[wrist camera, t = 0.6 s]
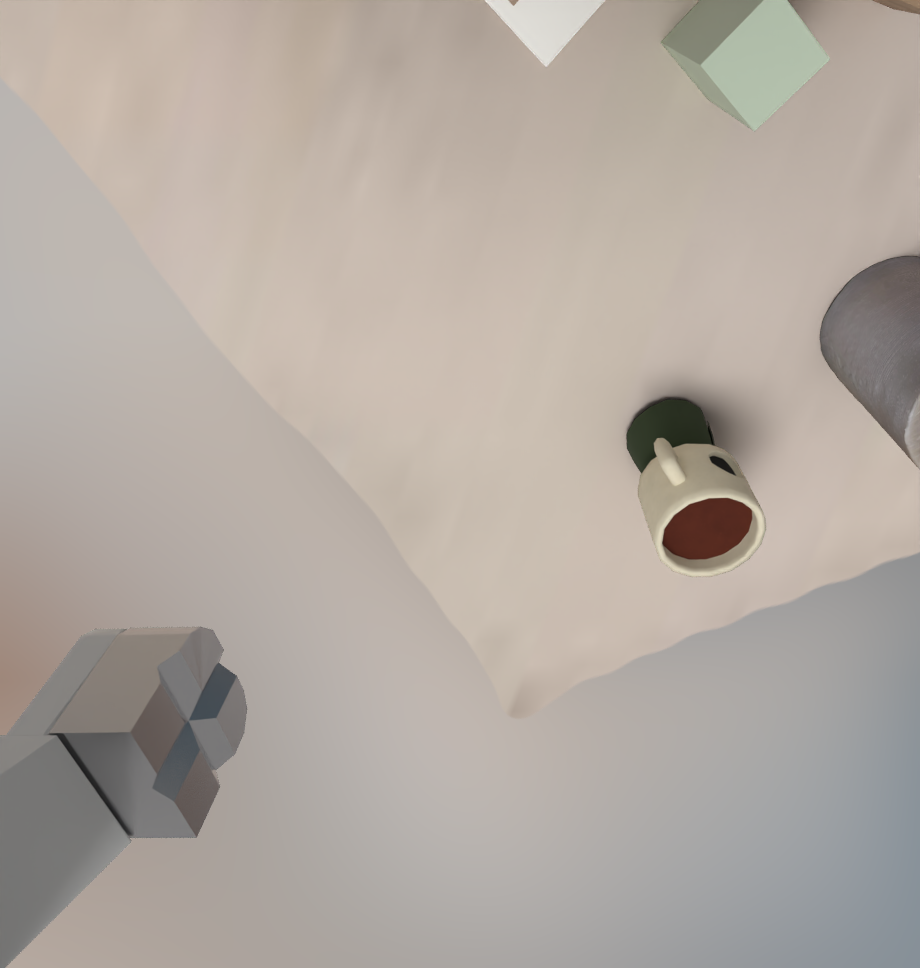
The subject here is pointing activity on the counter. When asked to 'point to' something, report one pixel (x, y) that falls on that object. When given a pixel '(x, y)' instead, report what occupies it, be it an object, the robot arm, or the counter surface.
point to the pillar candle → (880, 346)
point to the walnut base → (902, 5)
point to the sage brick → (746, 55)
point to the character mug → (692, 492)
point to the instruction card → (545, 22)
